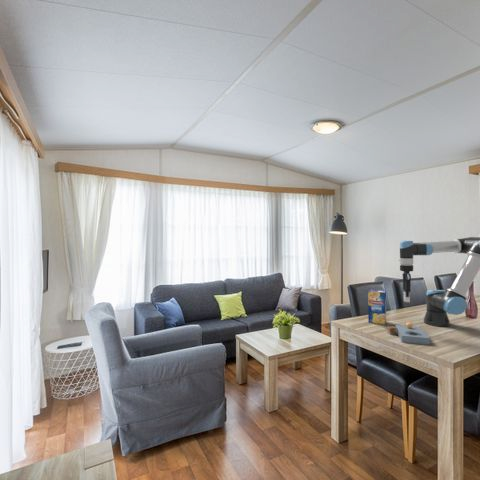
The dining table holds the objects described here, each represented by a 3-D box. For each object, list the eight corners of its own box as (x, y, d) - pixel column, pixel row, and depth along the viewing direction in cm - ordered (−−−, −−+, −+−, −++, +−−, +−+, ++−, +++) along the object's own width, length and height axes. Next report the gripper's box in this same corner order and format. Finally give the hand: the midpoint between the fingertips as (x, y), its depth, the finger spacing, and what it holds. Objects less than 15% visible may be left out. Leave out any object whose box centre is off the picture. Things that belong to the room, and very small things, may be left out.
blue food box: (385, 324, 207) (385, 292, 206) (368, 322, 212) (368, 291, 212) (386, 321, 213) (386, 290, 212) (369, 319, 218) (369, 289, 218)
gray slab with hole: (395, 330, 193) (395, 324, 193) (420, 332, 189) (420, 326, 189) (401, 341, 173) (401, 335, 173) (429, 344, 168) (429, 338, 168)
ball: (411, 327, 187) (411, 321, 187) (413, 329, 184) (413, 323, 184) (405, 327, 189) (405, 321, 189) (406, 328, 185) (406, 323, 185)
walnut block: (393, 332, 190) (393, 326, 190) (396, 334, 186) (396, 328, 186) (387, 332, 190) (387, 326, 190) (390, 334, 186) (390, 328, 186)
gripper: (397, 263, 202) (398, 298, 202) (402, 265, 187) (402, 303, 188) (410, 263, 200) (410, 299, 200) (415, 266, 185) (416, 304, 185)
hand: (406, 301), depth 194 cm, fingers open, 3 cm apart
